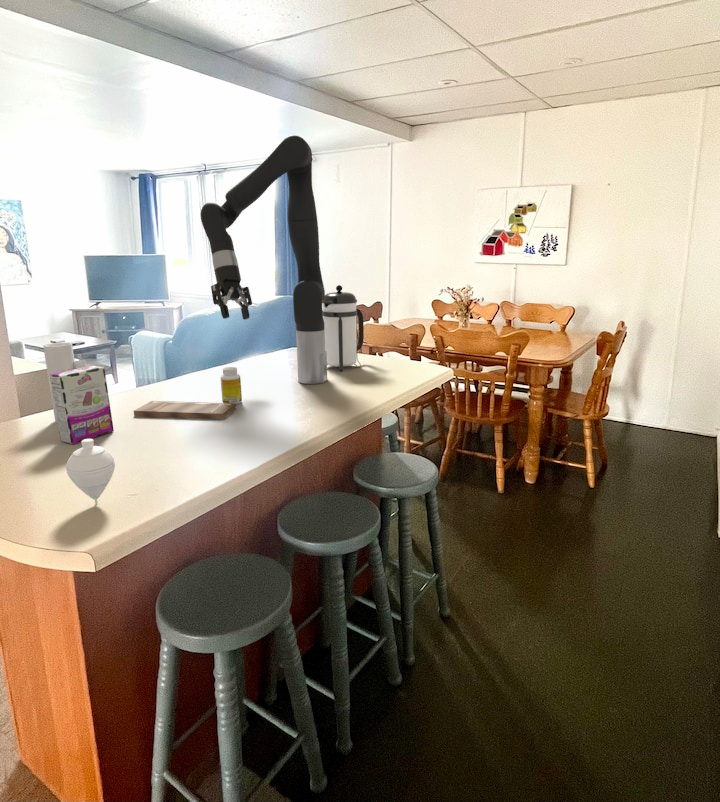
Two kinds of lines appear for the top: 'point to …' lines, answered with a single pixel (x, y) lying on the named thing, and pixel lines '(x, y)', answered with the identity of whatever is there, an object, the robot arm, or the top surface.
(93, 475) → the spinning top
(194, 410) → the walnut board
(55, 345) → the vase
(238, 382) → the supplement bottle
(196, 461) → the top surface
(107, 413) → the candy bar box
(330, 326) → the coffee press
